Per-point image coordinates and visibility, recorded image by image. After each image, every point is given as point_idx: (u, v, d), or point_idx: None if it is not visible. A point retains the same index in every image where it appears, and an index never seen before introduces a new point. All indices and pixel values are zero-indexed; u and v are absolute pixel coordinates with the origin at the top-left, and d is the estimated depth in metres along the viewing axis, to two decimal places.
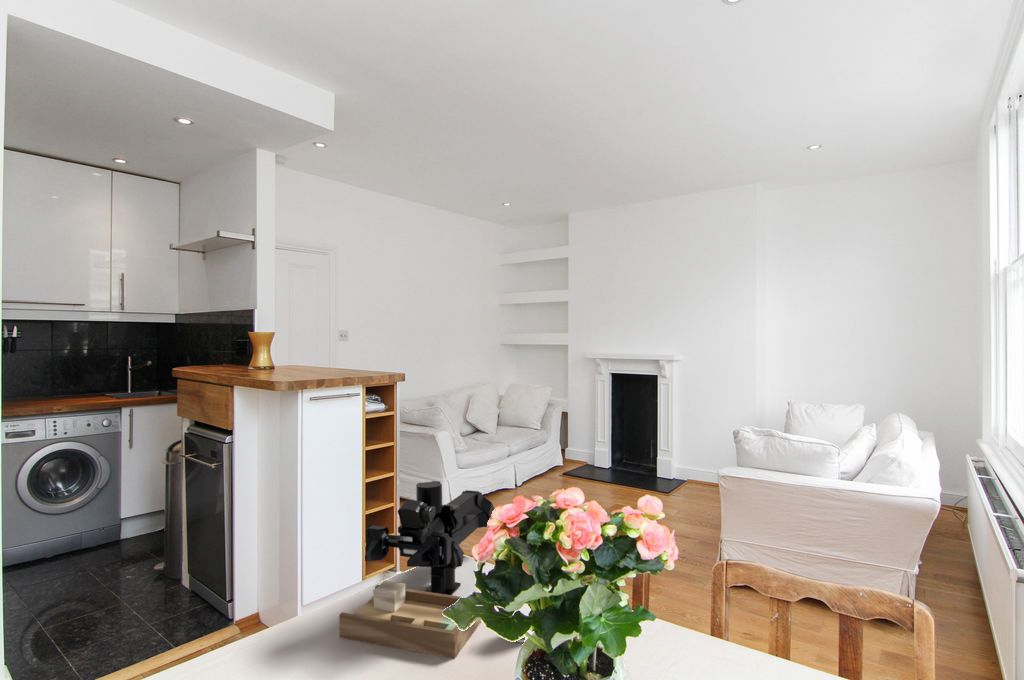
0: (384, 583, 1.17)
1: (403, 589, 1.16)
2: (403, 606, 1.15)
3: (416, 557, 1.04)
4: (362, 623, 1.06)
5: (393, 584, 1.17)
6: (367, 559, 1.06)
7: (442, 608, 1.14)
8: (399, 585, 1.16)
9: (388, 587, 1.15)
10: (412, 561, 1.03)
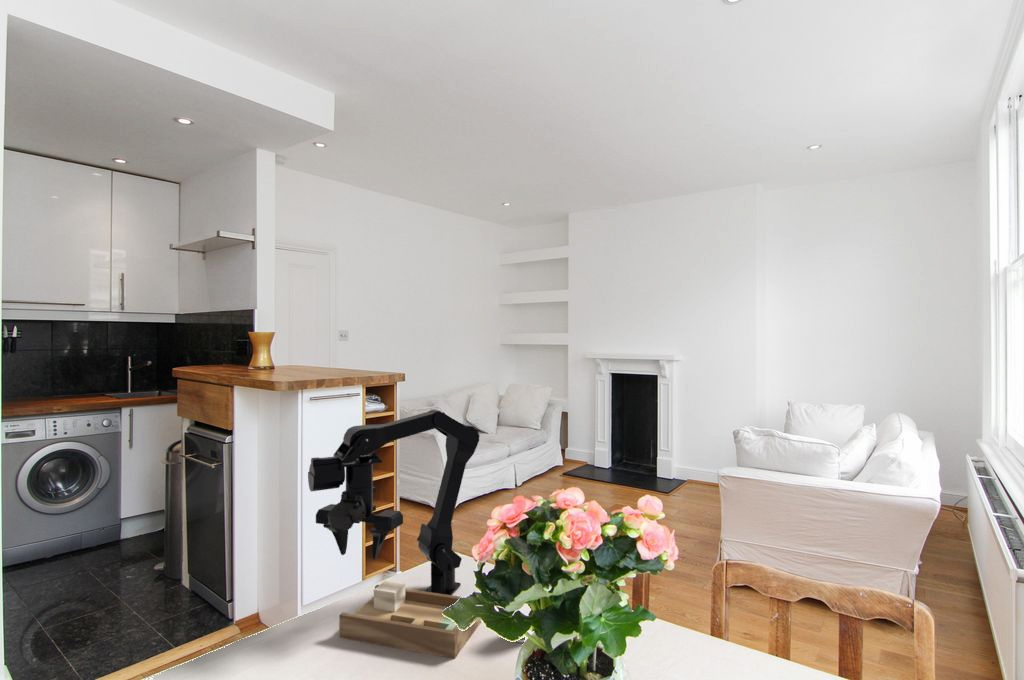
0: (384, 583, 1.17)
1: (403, 589, 1.16)
2: (403, 606, 1.15)
3: (376, 550, 1.16)
4: (362, 623, 1.06)
5: (393, 584, 1.17)
6: (344, 552, 1.19)
7: (442, 608, 1.14)
8: (399, 585, 1.16)
9: (388, 587, 1.15)
10: (376, 554, 1.16)
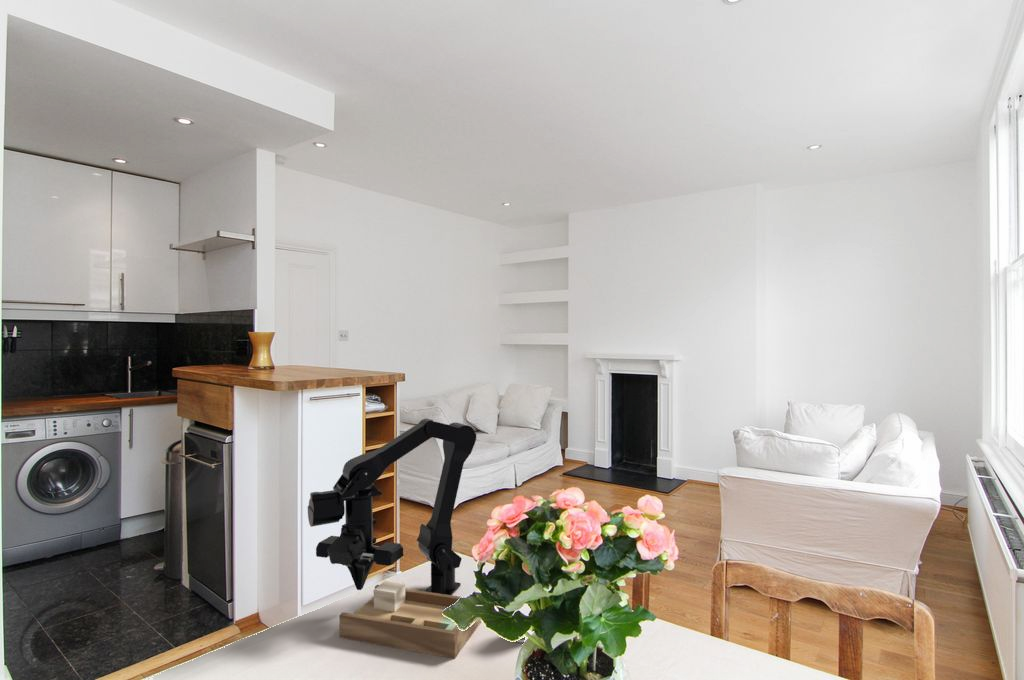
0: (384, 583, 1.17)
1: (403, 589, 1.16)
2: (403, 606, 1.15)
3: (362, 581, 1.17)
4: (362, 623, 1.06)
5: (393, 584, 1.17)
6: None
7: (442, 608, 1.14)
8: (399, 585, 1.16)
9: (388, 587, 1.15)
10: (361, 585, 1.18)
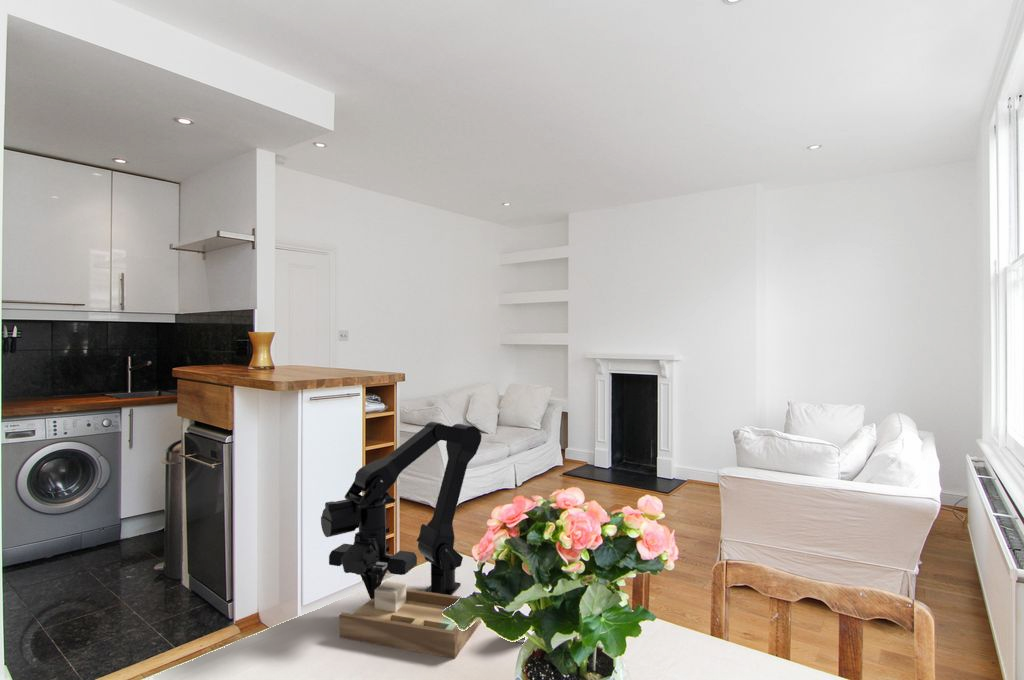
0: (385, 583, 1.17)
1: (404, 589, 1.16)
2: (403, 606, 1.15)
3: None
4: (362, 623, 1.06)
5: (394, 584, 1.17)
6: None
7: (442, 608, 1.14)
8: (400, 585, 1.16)
9: (389, 587, 1.15)
10: (374, 594, 1.16)
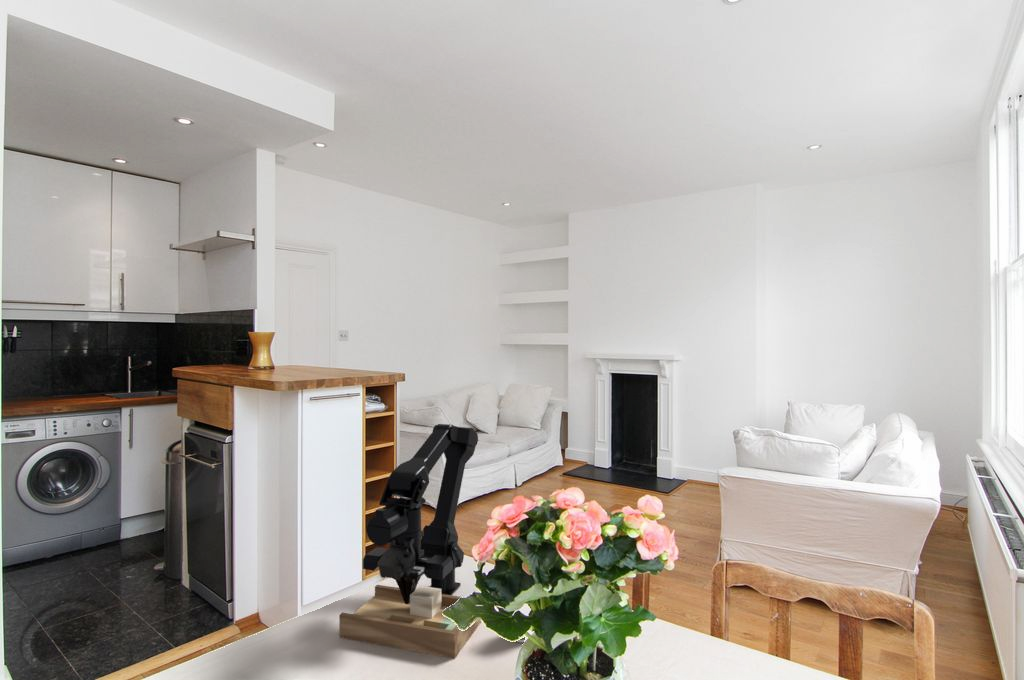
0: (420, 588, 1.14)
1: (439, 595, 1.13)
2: (403, 606, 1.15)
3: None
4: (362, 623, 1.06)
5: (429, 589, 1.14)
6: None
7: (442, 608, 1.14)
8: (435, 590, 1.13)
9: (425, 593, 1.12)
10: (409, 599, 1.14)
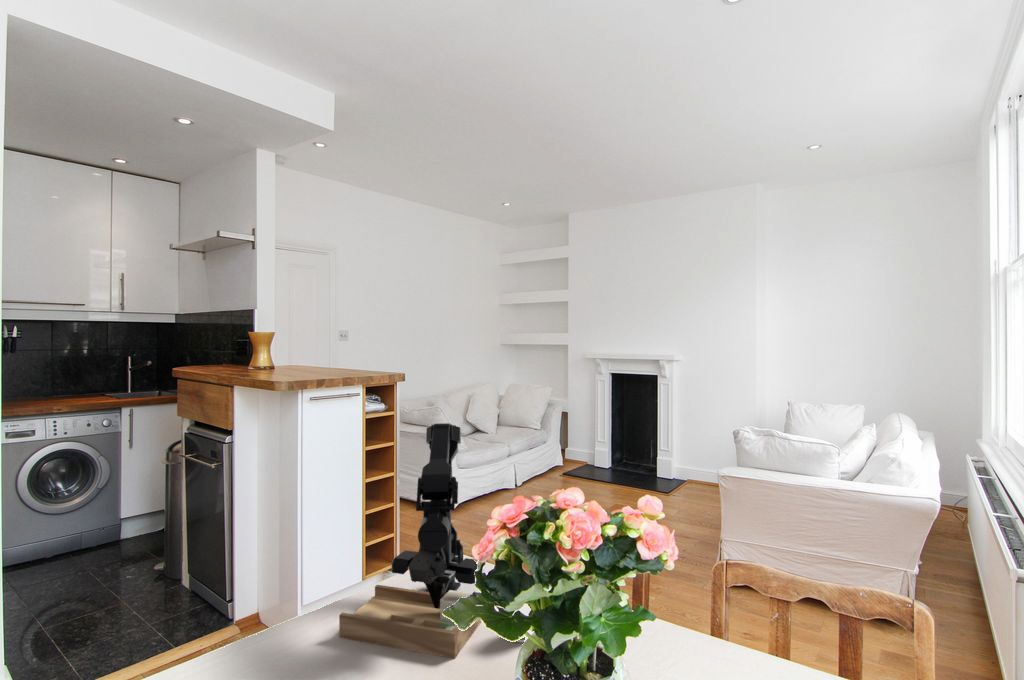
0: (450, 593, 1.12)
1: None
2: (403, 606, 1.15)
3: None
4: (362, 623, 1.06)
5: (459, 593, 1.12)
6: None
7: None
8: (466, 595, 1.11)
9: (455, 597, 1.10)
10: (439, 603, 1.12)
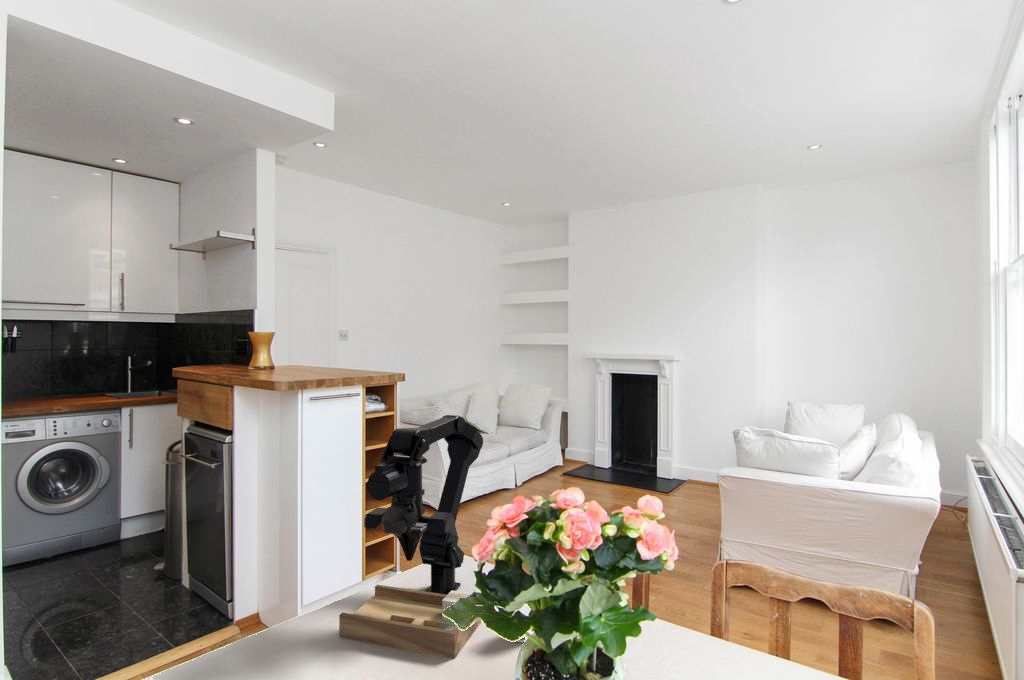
0: (452, 593, 1.12)
1: None
2: (403, 606, 1.15)
3: (412, 552, 1.15)
4: (362, 623, 1.06)
5: (462, 594, 1.12)
6: None
7: None
8: (468, 595, 1.11)
9: (457, 598, 1.10)
10: (412, 556, 1.16)
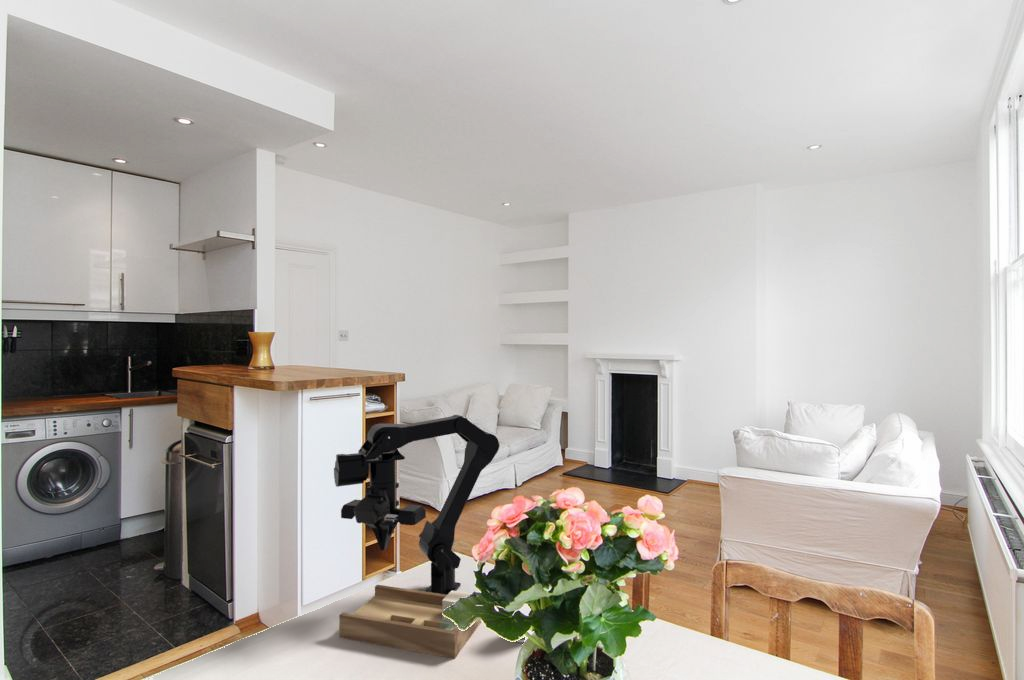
0: (452, 593, 1.12)
1: None
2: (403, 606, 1.15)
3: (385, 542, 1.21)
4: (362, 623, 1.06)
5: (462, 594, 1.12)
6: None
7: None
8: (468, 595, 1.11)
9: (457, 598, 1.10)
10: (385, 546, 1.21)
